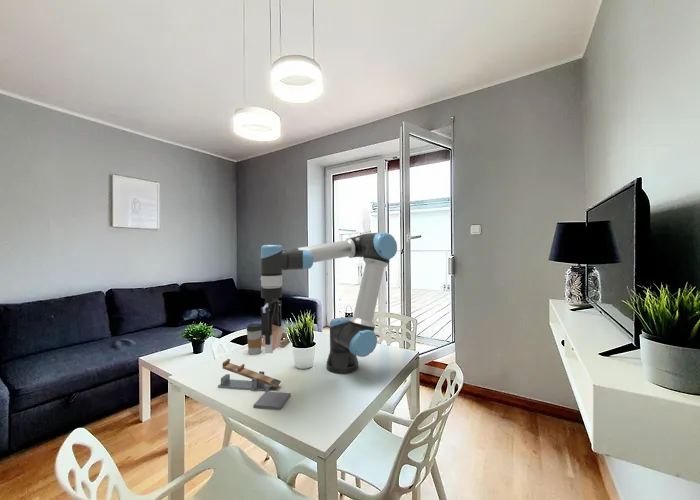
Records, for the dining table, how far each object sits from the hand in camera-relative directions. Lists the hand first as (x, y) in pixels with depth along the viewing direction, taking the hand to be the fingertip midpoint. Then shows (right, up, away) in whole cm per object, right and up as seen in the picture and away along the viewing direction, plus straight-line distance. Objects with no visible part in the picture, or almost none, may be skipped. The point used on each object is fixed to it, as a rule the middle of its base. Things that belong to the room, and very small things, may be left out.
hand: (272, 350), depth 108 cm
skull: (-15, -19, +66) cm, 70 cm away
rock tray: (-14, -18, +67) cm, 71 cm away
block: (-1, +1, 0) cm, 2 cm away
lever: (-12, -15, +12) cm, 22 cm away
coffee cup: (-23, -19, +50) cm, 58 cm away
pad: (0, -19, 0) cm, 19 cm away
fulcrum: (-14, -19, +12) cm, 26 cm away
